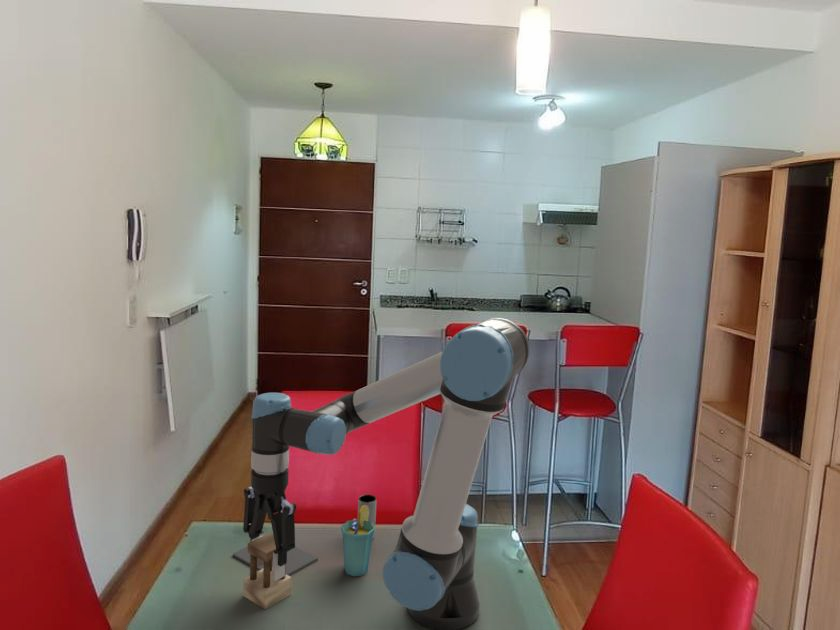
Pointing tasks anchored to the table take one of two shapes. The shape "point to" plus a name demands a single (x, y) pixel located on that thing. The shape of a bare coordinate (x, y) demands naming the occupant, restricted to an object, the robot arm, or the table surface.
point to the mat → (294, 559)
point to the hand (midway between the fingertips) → (267, 571)
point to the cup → (357, 543)
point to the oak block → (266, 590)
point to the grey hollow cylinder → (371, 503)
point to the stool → (262, 557)
